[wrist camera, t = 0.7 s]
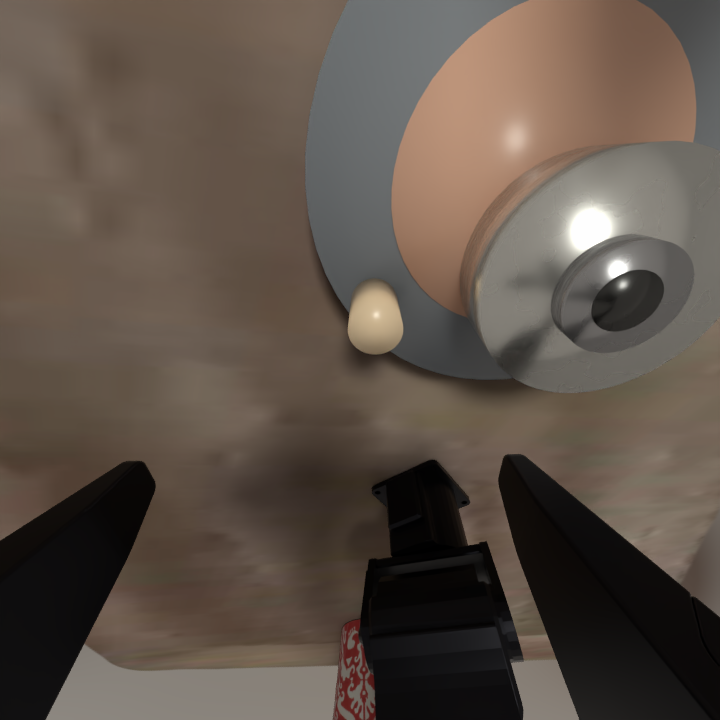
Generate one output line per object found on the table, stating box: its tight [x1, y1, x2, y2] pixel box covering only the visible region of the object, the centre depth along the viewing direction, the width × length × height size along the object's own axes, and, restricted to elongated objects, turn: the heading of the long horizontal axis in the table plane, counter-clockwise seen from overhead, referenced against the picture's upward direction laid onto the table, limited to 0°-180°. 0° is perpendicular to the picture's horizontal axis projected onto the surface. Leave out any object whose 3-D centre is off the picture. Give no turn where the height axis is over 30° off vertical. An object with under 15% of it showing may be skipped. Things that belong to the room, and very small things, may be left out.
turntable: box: [305, 0, 720, 380], centre depth 13 cm, size 20×20×5 cm
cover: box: [460, 141, 720, 393], centre depth 14 cm, size 10×10×5 cm
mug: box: [333, 619, 376, 720], centre depth 40 cm, size 13×9×14 cm
